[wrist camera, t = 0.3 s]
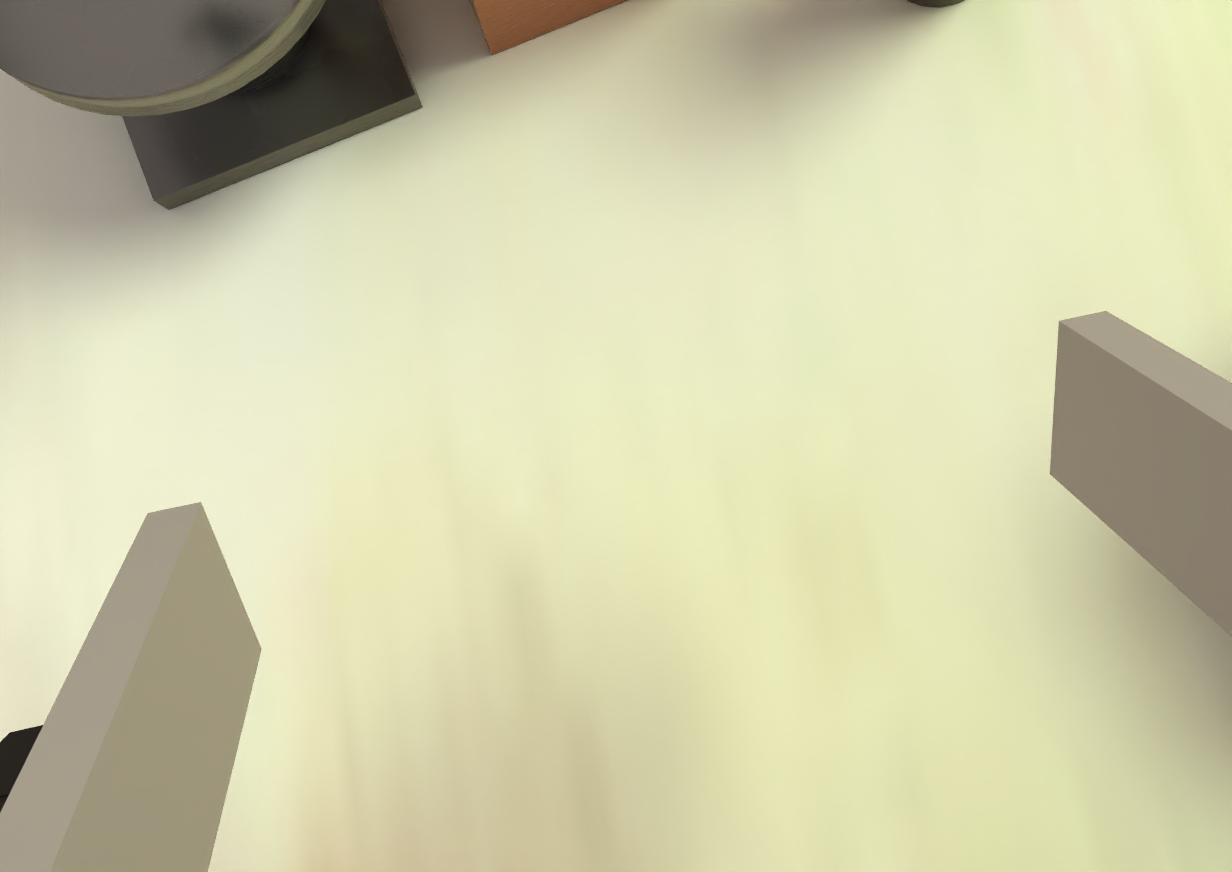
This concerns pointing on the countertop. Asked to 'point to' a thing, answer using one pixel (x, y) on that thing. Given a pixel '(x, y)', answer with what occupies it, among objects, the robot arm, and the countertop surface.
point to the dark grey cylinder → (935, 2)
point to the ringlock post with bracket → (235, 74)
